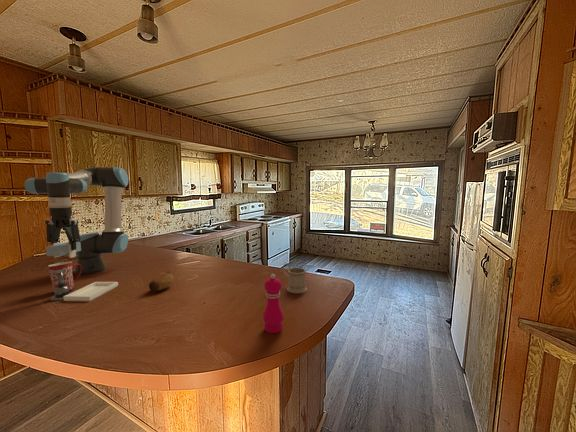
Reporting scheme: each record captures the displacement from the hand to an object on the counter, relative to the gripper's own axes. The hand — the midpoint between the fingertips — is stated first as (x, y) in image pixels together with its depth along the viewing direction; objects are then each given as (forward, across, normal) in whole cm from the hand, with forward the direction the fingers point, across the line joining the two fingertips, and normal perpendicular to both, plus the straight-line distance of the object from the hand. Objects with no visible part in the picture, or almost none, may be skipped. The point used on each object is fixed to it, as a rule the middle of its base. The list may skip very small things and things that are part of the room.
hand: (65, 256), depth 115 cm
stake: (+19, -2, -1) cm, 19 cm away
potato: (+19, +39, +10) cm, 45 cm away
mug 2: (+19, +105, +15) cm, 107 cm away
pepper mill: (+19, +99, -23) cm, 103 cm away
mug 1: (+19, -7, +7) cm, 21 cm away
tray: (+19, +8, +4) cm, 21 cm away
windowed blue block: (-2, 0, 0) cm, 2 cm away
